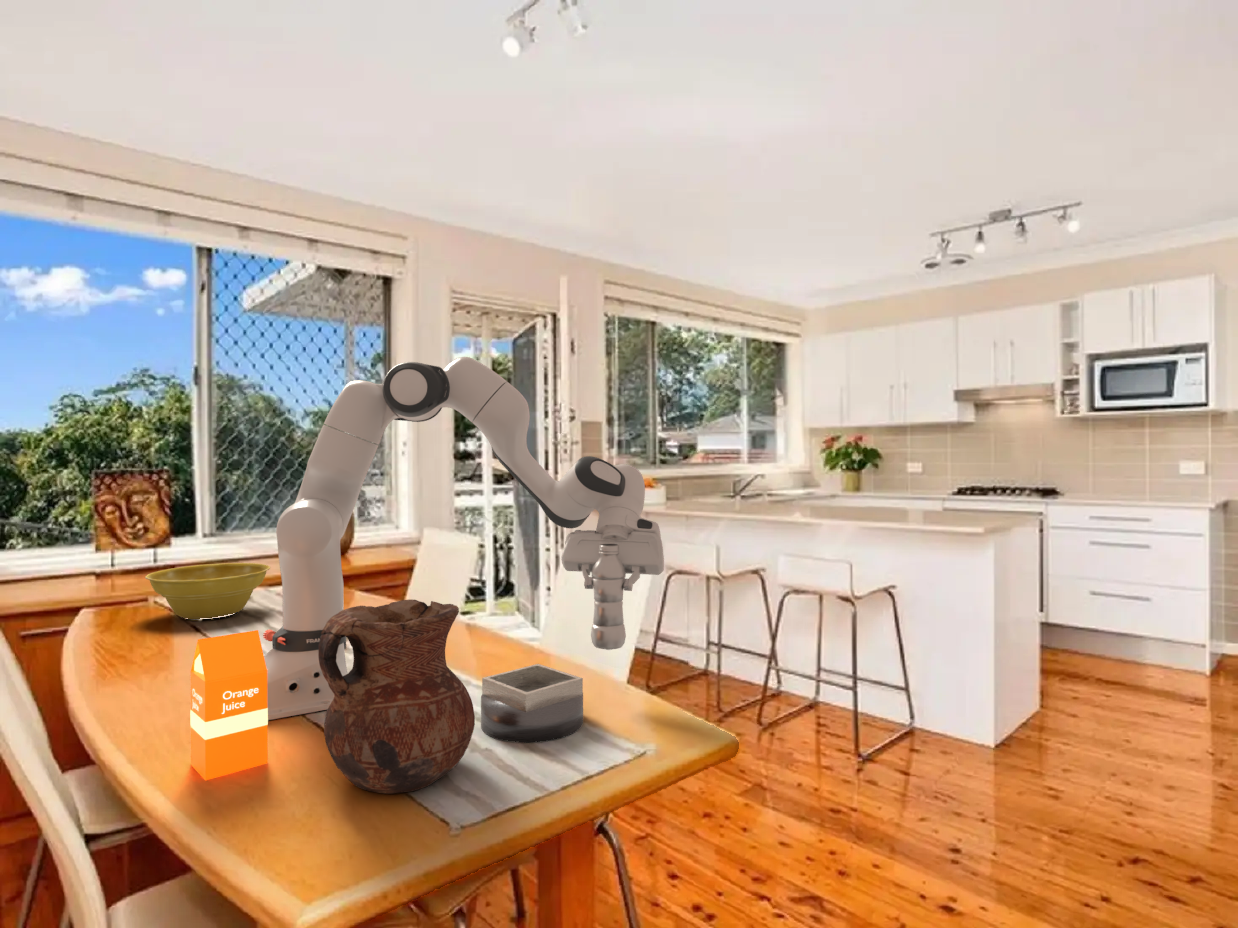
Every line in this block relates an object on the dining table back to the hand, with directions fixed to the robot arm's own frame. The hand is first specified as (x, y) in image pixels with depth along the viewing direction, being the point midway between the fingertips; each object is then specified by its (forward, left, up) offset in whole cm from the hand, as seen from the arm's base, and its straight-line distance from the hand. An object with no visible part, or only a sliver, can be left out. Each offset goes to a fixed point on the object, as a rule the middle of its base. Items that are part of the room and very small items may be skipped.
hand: (607, 588), depth 140 cm
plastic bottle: (0, 0, -12) cm, 12 cm away
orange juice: (-60, +21, -22) cm, 68 cm away
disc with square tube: (-16, +2, -22) cm, 28 cm away
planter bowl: (-30, +137, -22) cm, 142 cm away
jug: (-43, -1, -22) cm, 49 cm away
